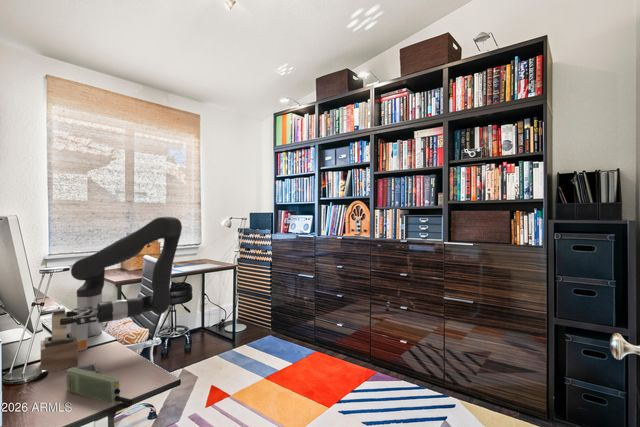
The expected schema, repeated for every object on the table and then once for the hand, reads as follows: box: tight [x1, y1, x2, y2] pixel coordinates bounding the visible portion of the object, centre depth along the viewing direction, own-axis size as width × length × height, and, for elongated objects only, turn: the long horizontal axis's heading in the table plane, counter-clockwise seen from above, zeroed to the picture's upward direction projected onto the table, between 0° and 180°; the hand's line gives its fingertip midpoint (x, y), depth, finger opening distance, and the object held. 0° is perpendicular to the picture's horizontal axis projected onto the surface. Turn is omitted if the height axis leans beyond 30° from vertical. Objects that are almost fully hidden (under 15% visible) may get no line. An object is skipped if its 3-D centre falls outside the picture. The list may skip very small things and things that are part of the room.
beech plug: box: [51, 307, 67, 342], centre depth 122 cm, size 4×4×11 cm
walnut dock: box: [40, 333, 79, 373], centre depth 122 cm, size 10×10×9 cm
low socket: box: [76, 362, 100, 374], centre depth 115 cm, size 8×8×1 cm
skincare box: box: [67, 323, 88, 352], centre depth 134 cm, size 6×4×12 cm
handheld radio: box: [66, 366, 134, 406], centre depth 101 cm, size 7×3×25 cm
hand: (59, 319), depth 122 cm, fingers open, 8 cm apart
